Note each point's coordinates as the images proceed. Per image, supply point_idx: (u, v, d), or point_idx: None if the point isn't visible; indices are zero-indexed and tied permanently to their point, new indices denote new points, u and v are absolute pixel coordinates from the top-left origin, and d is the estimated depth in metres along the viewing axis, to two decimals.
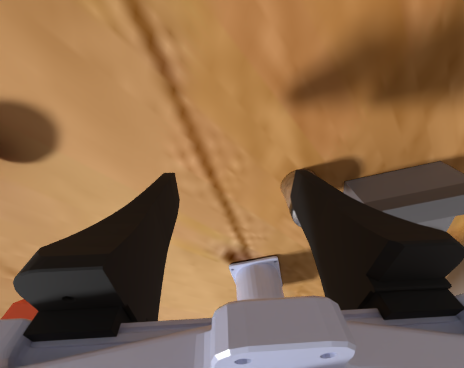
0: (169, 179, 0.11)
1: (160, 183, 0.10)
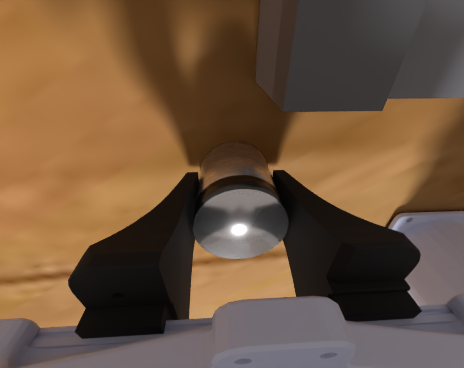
0: (194, 178, 0.11)
1: (187, 182, 0.10)
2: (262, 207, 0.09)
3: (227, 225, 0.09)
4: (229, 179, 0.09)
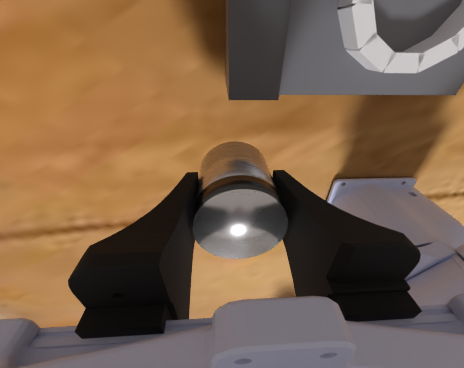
0: (194, 178, 0.11)
1: (187, 182, 0.10)
2: (261, 207, 0.09)
3: (227, 225, 0.09)
4: (229, 179, 0.09)
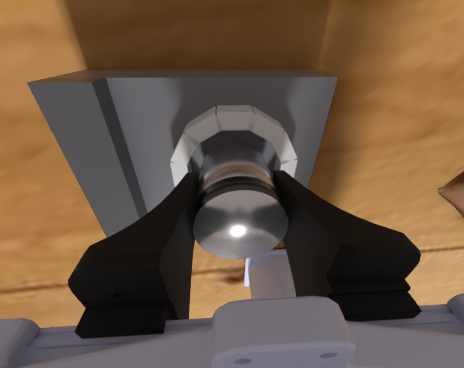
0: (194, 178, 0.11)
1: (186, 182, 0.10)
2: (263, 209, 0.09)
3: (227, 225, 0.09)
4: (231, 180, 0.09)
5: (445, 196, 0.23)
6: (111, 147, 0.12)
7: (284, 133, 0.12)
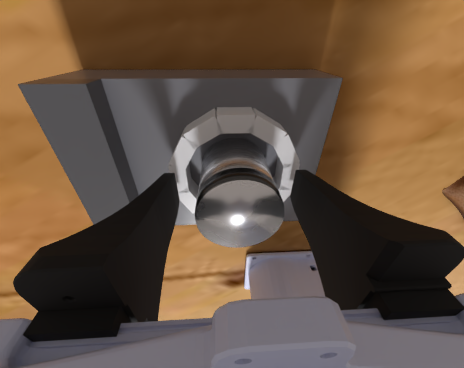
0: (169, 179, 0.11)
1: (160, 183, 0.10)
2: (261, 198, 0.09)
3: (227, 214, 0.10)
4: (231, 171, 0.10)
5: (449, 197, 0.22)
6: (107, 151, 0.11)
7: (286, 136, 0.12)
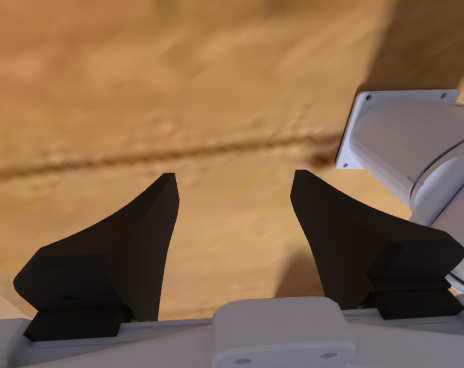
0: (169, 179, 0.11)
1: (160, 183, 0.10)
2: None
3: None
4: None
5: None
6: None
7: None
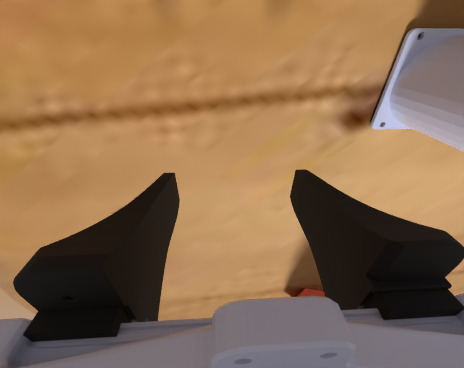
0: (169, 179, 0.11)
1: (160, 183, 0.10)
2: None
3: None
4: None
5: None
6: None
7: None
